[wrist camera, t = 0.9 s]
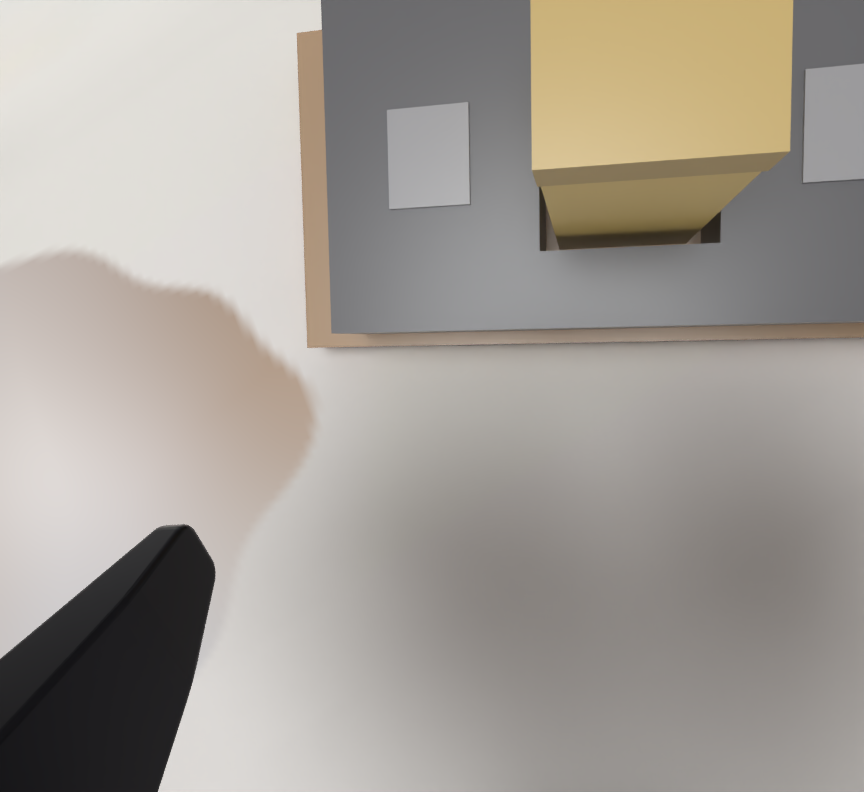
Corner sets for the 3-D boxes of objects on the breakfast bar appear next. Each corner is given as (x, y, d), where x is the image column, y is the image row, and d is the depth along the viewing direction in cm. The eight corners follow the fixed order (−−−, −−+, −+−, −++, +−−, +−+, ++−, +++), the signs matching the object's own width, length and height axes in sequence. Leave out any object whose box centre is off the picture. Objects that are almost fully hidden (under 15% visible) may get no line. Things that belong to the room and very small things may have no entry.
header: (979, 335, 20) (1094, 333, 15) (324, 347, 24) (264, 349, 20) (994, -29, 19) (1121, -143, 14) (314, 52, 23) (250, -16, 19)
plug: (688, 245, 20) (790, 151, 10) (557, 251, 21) (531, 170, 11) (689, 84, 19) (797, -181, 10) (556, 97, 20) (530, -135, 10)
